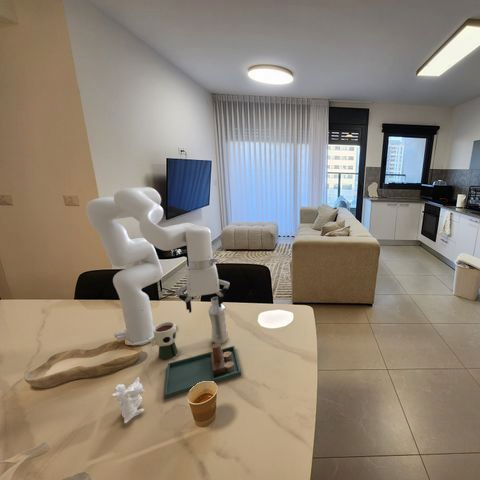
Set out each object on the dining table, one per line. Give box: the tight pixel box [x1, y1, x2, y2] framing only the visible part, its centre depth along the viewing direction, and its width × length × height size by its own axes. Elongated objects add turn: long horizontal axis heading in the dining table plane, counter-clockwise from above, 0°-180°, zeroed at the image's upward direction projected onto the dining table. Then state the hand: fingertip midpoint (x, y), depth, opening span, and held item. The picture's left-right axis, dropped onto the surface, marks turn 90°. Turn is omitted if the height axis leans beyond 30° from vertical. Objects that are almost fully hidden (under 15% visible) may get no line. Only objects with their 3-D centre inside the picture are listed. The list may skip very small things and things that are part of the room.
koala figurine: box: [110, 376, 145, 424], centre depth 75 cm, size 8×7×12 cm
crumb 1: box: [223, 351, 232, 361], centre depth 99 cm, size 3×3×2 cm
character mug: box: [150, 321, 180, 361], centre depth 99 cm, size 11×7×13 cm, turn 155°
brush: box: [211, 343, 226, 378], centre depth 94 cm, size 4×10×9 cm, turn 26°
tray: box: [164, 345, 242, 400], centre depth 93 cm, size 23×15×2 cm, turn 116°
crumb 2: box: [225, 362, 234, 372], centre depth 94 cm, size 3×3×2 cm
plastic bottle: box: [208, 296, 229, 345], centre depth 107 cm, size 6×7×20 cm
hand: (205, 308), depth 92 cm, fingers open, 9 cm apart
